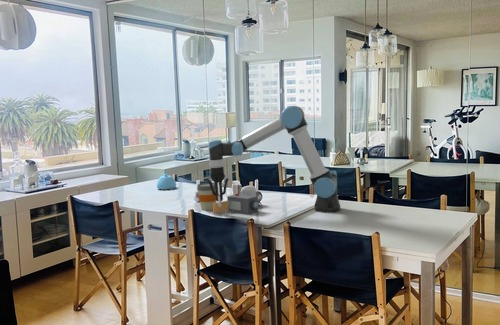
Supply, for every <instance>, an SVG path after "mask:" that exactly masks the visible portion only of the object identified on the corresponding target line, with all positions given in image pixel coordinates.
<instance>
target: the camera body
mask: <svg viewBox="0 0 500 325" xmlns="http://www.w3.org/2000/svg"><path fill="white" fill-rule="evenodd" d="M227 200H229V210H227V211H228V212H233V213H237V214H239V213H240V214H245V215H246V214H247V215H249V214H253V213H256V212H259V206H260V204H259V198H258V195H256V196H253V195H245V194H241V193H239V192H235V193H234V194H231V195H227Z"/></svg>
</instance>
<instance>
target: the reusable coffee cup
mask: <svg viewBox="0 0 500 325" xmlns="http://www.w3.org/2000/svg"><path fill="white" fill-rule="evenodd" d="M212 184H213V187H214V190H215V182H212ZM196 186H197V187H196V189H197V192H198V194H197V196H198V201H199V204H200V208H201V210H203V211H210V210H212V211H213V203H217V200H216V195H213V193H212V190H211V188H210V185H209V183H208V182H203V183H198V184H197V185H196ZM215 193H216V192H215Z"/></svg>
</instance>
